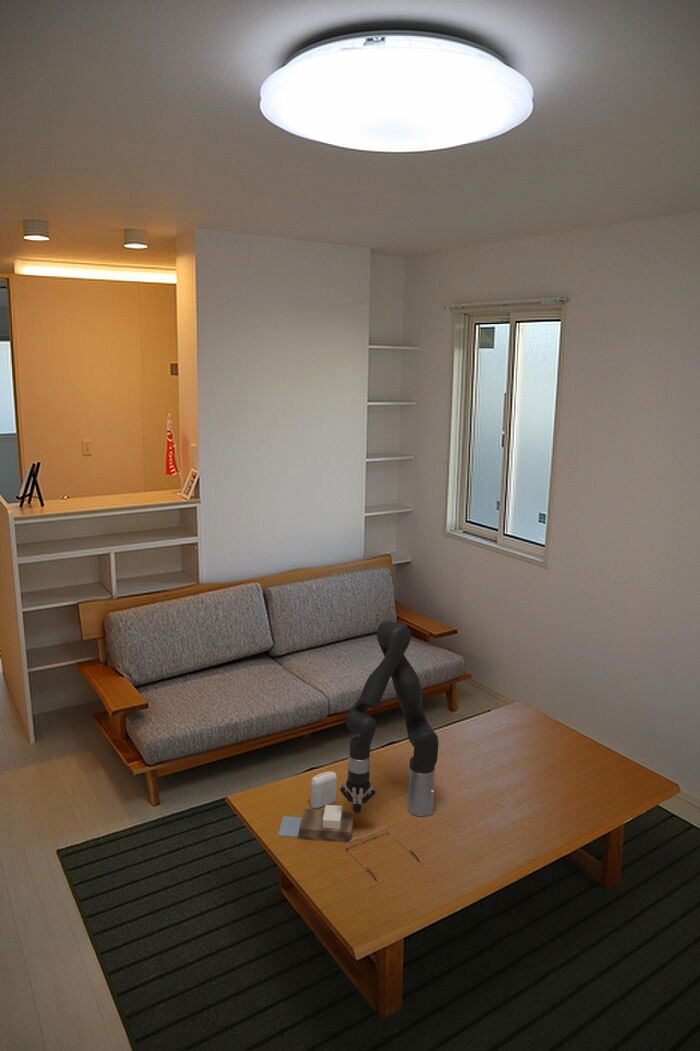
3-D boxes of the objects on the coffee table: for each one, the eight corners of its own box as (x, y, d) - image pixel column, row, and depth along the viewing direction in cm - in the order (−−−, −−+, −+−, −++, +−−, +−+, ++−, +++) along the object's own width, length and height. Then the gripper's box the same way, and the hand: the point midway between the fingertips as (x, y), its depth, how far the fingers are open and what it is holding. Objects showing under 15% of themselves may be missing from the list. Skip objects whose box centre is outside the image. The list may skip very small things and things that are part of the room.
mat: (302, 818, 273) (302, 817, 273) (298, 837, 262) (298, 836, 262) (283, 817, 274) (283, 816, 273) (278, 835, 263) (278, 835, 263)
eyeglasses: (388, 833, 266) (388, 823, 265) (421, 865, 251) (421, 855, 250) (344, 850, 257) (345, 840, 256) (376, 884, 241) (376, 873, 240)
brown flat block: (353, 821, 272) (353, 811, 271) (351, 842, 260) (351, 832, 259) (303, 818, 273) (303, 808, 272) (299, 839, 261) (299, 828, 260)
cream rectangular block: (342, 813, 270) (342, 805, 269) (340, 828, 261) (340, 821, 260) (325, 812, 270) (325, 804, 269) (322, 827, 261) (322, 819, 261)
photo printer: (331, 796, 287) (332, 767, 284) (338, 802, 283) (338, 772, 281) (308, 804, 281) (308, 774, 279) (314, 810, 278) (314, 780, 275)
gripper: (378, 762, 264) (376, 807, 267) (341, 759, 265) (339, 804, 268) (377, 774, 256) (375, 820, 260) (338, 771, 257) (337, 816, 261)
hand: (357, 811), depth 264 cm, fingers closed
